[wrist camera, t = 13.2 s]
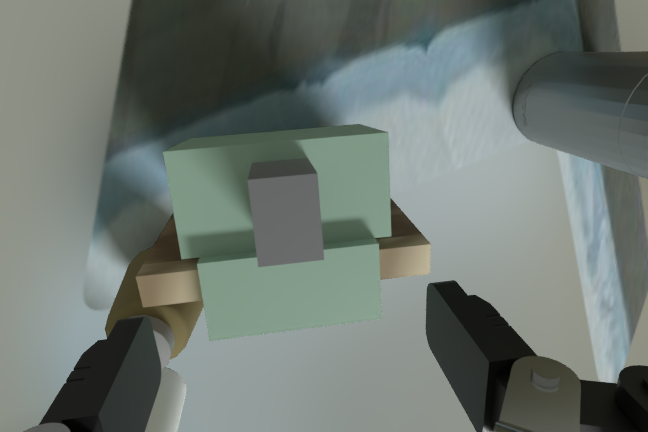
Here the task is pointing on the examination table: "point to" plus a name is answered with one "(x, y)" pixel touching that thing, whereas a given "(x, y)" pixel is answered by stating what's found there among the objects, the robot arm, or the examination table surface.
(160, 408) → the cylindrical container
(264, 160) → the green box
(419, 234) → the wall board
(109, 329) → the squeeze bottle
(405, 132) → the examination table surface
